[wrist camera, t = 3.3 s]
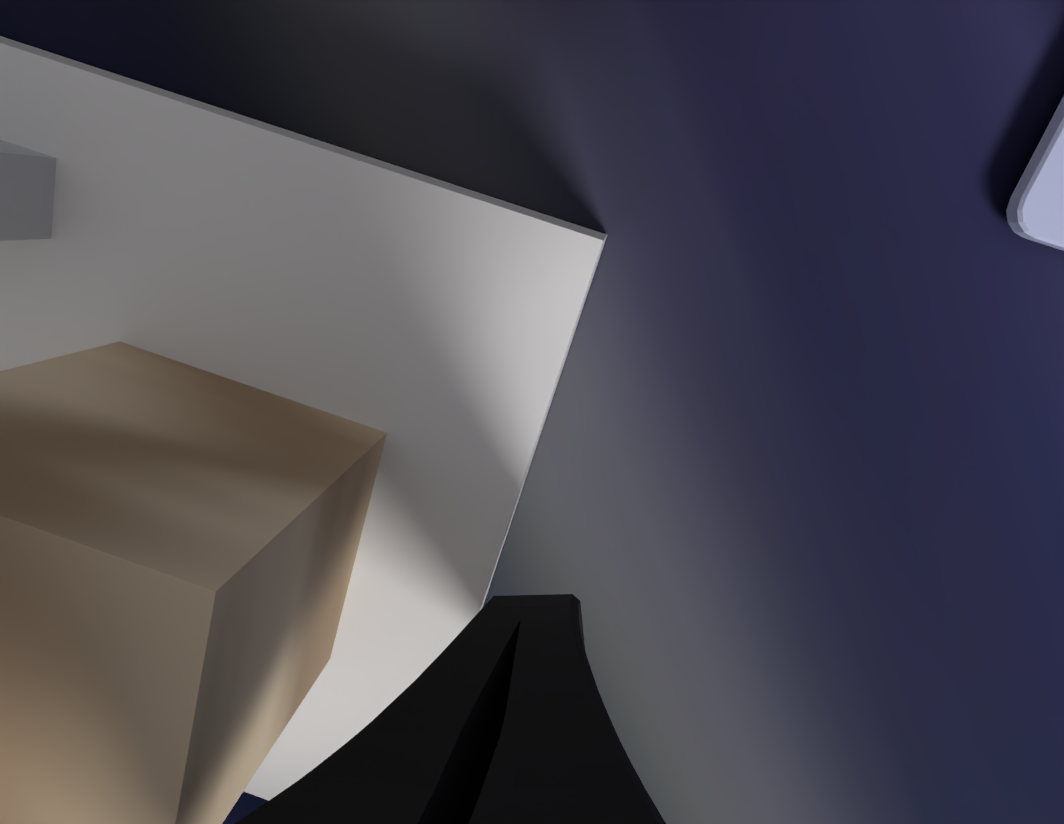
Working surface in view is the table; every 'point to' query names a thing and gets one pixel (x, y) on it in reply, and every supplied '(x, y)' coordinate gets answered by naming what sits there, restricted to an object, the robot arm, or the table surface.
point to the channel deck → (302, 328)
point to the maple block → (162, 581)
